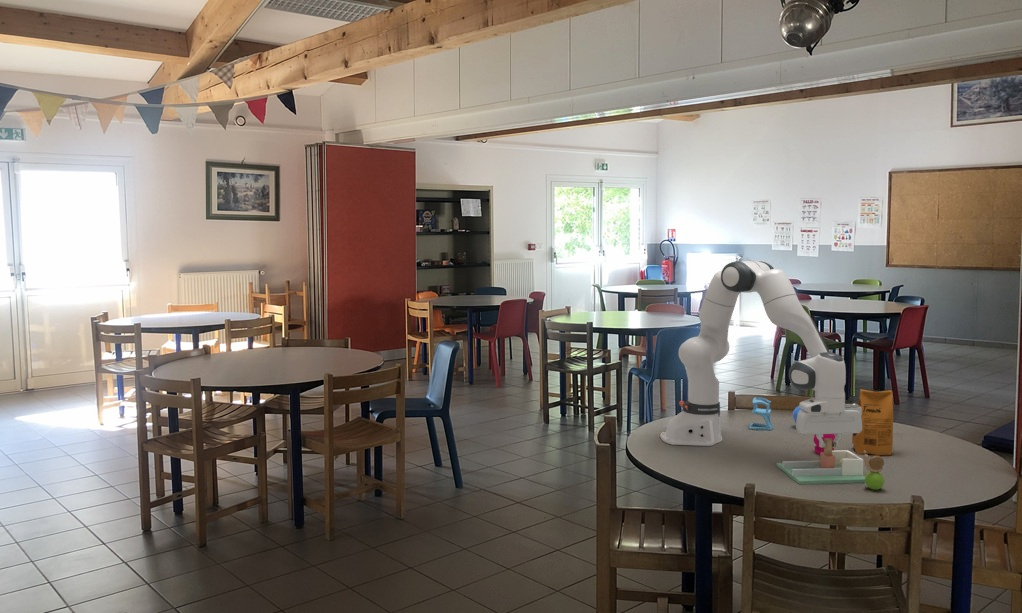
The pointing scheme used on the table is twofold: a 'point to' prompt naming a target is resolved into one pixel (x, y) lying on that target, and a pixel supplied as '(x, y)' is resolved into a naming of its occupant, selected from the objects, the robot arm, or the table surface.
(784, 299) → the robot arm
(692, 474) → the table surface
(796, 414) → the cell model
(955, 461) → the table surface
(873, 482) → the snail figurine
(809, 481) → the pitch
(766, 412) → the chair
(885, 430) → the coffee package
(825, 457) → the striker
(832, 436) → the pepper mill
